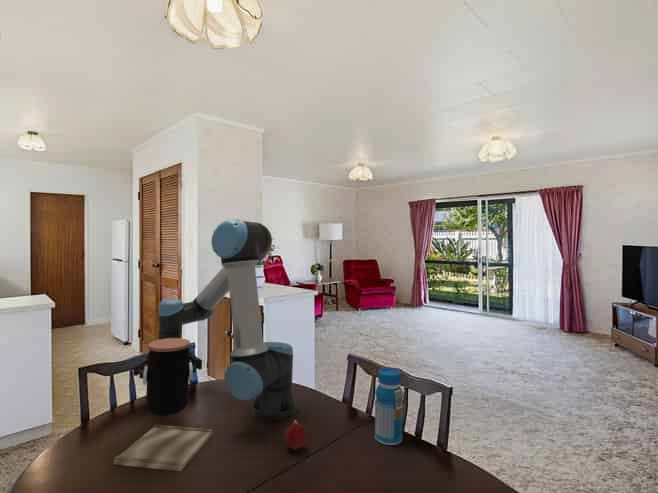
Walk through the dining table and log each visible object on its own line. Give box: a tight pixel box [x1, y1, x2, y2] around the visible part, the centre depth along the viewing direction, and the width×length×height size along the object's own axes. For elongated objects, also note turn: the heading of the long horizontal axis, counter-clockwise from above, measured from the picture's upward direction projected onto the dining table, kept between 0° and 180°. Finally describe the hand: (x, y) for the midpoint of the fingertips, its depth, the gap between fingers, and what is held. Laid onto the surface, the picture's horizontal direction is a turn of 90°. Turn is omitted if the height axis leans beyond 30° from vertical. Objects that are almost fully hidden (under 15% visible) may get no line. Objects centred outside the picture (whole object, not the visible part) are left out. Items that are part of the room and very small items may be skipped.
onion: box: [284, 419, 307, 451], centre depth 100 cm, size 6×6×8 cm
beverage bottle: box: [374, 367, 405, 446], centre depth 107 cm, size 8×8×20 cm
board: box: [113, 424, 214, 472], centre depth 99 cm, size 18×18×2 cm
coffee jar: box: [145, 338, 191, 417], centre depth 99 cm, size 11×11×18 cm
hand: (168, 377), depth 96 cm, fingers closed on coffee jar, 11 cm apart
